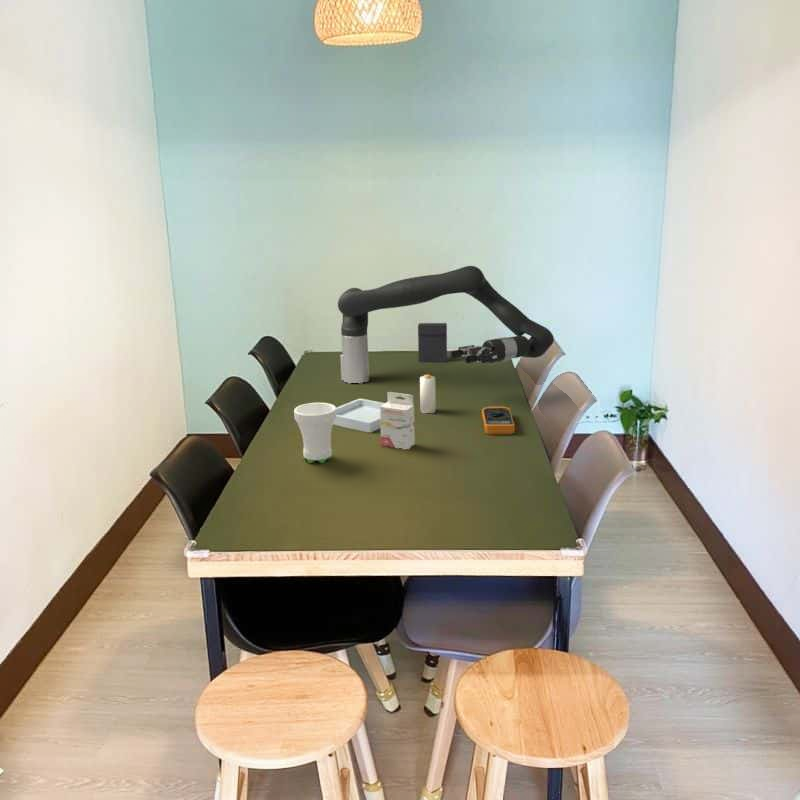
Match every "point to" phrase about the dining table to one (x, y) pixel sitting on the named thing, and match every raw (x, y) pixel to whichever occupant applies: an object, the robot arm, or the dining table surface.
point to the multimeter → (498, 420)
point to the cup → (316, 429)
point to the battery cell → (427, 394)
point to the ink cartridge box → (397, 421)
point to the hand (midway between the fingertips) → (458, 357)
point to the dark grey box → (432, 342)
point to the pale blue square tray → (359, 415)
